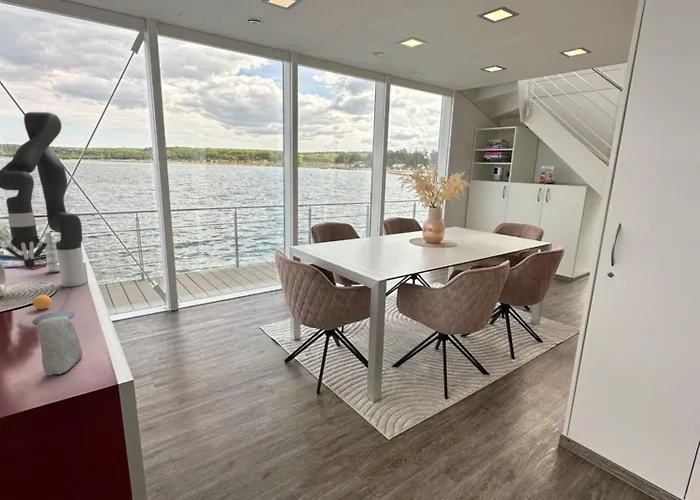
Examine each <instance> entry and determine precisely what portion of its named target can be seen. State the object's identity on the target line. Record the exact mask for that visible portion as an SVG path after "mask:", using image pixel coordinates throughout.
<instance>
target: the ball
mask: <svg viewBox="0 0 700 500" xmlns="http://www.w3.org/2000/svg"><path fill="white" fill-rule="evenodd" d="M52 302H53V301H52V298H51V297H50V296H49V295H46V294H41V295H38V296H36V297H34V298H33V301H32V305H33V306H34V308H35V309H38V310H46V309H48V308H49V307H51V305H52Z"/></svg>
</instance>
